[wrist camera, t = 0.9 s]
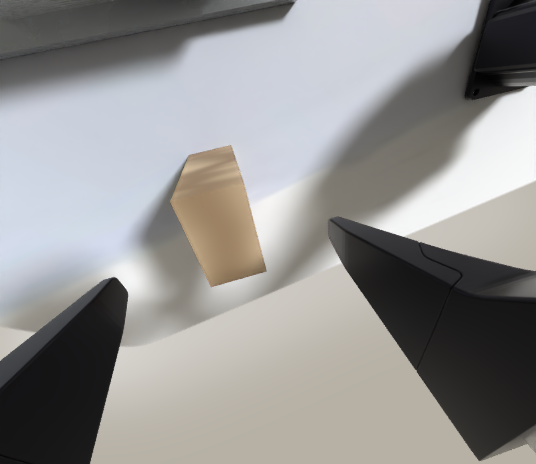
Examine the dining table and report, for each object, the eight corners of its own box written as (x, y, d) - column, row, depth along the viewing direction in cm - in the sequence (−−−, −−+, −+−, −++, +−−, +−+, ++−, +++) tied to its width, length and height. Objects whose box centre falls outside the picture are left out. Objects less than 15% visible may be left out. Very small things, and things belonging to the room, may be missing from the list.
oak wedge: (231, 145, 15) (243, 183, 9) (247, 207, 18) (266, 271, 12) (189, 155, 15) (170, 202, 9) (212, 216, 18) (210, 287, 11)
